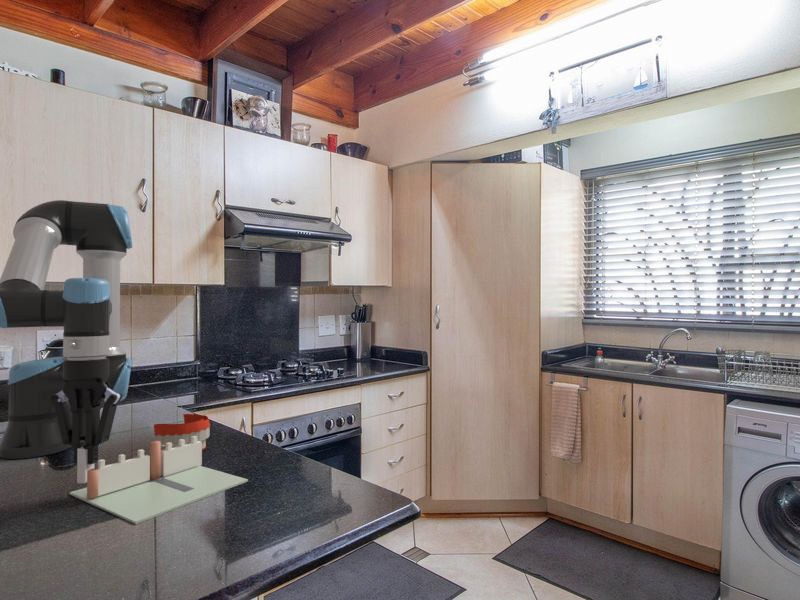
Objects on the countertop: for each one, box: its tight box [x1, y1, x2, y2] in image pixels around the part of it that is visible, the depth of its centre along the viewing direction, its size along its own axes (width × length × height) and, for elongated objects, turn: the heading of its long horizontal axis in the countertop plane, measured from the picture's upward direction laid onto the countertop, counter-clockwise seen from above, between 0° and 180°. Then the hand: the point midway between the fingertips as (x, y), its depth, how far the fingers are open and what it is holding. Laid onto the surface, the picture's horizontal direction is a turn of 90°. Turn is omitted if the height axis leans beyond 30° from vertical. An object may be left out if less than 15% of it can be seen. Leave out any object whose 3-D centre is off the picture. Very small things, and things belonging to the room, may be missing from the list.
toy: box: [153, 413, 211, 452], centre depth 119 cm, size 12×10×8 cm
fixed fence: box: [149, 436, 203, 480], centre depth 103 cm, size 2×12×8 cm, turn 147°
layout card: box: [69, 465, 249, 525], centre depth 95 cm, size 24×23×1 cm
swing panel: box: [86, 448, 150, 499], centre depth 93 cm, size 11×2×6 cm, turn 147°
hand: (85, 480), depth 91 cm, fingers closed
